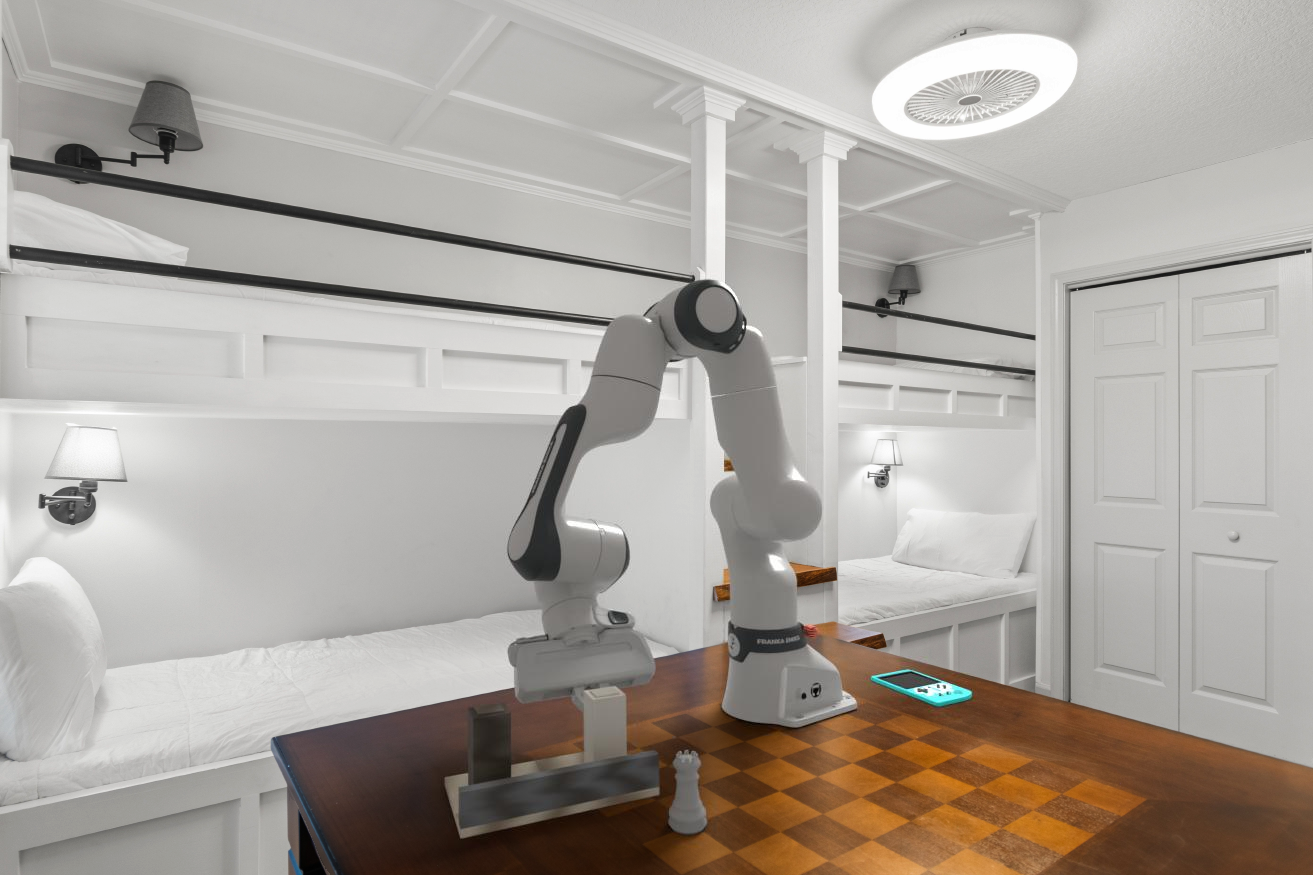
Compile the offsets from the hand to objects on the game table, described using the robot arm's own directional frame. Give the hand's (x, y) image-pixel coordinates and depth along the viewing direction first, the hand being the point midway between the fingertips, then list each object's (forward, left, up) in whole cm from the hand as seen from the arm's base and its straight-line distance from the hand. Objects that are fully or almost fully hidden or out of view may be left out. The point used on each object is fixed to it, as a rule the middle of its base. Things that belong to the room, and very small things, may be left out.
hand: (597, 719), depth 96 cm
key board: (+8, +4, -6) cm, 11 cm away
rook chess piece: (-4, +19, -6) cm, 20 cm away
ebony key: (+15, +3, -5) cm, 16 cm away
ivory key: (0, +3, -5) cm, 6 cm away
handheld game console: (-63, -6, -7) cm, 64 cm away
